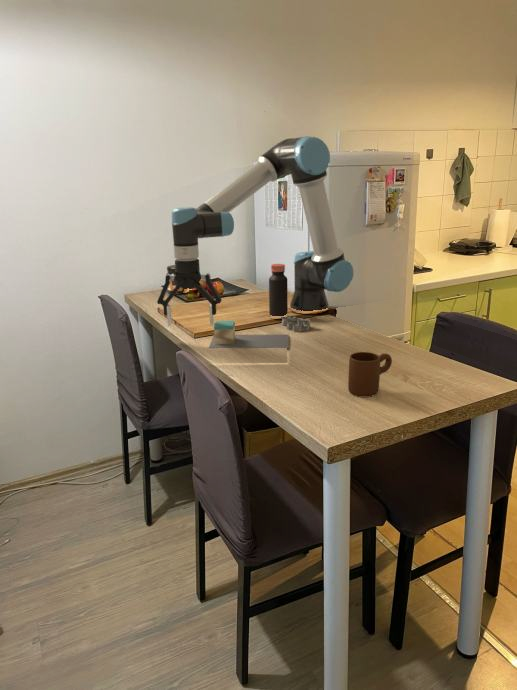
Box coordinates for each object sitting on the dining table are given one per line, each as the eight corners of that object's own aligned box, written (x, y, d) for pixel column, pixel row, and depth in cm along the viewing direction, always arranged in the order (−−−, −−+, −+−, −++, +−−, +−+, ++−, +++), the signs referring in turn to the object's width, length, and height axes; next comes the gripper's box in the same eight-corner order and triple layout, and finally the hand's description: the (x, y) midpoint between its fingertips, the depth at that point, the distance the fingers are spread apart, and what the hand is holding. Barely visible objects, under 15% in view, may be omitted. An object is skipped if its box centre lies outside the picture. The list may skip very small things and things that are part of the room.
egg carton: (312, 330, 189) (313, 319, 188) (294, 333, 186) (294, 322, 184) (296, 323, 198) (296, 312, 196) (278, 326, 194) (278, 315, 193)
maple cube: (235, 338, 179) (234, 320, 177) (233, 344, 173) (232, 326, 171) (217, 338, 179) (216, 320, 177) (214, 344, 174) (214, 326, 172)
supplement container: (163, 294, 246) (161, 268, 242) (174, 289, 255) (172, 264, 252) (184, 295, 243) (182, 268, 239) (194, 290, 252) (193, 264, 248)
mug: (380, 381, 143) (382, 347, 140) (399, 391, 137) (401, 355, 134) (342, 389, 138) (343, 354, 135) (359, 400, 132) (361, 363, 129)
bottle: (267, 319, 202) (266, 266, 196) (272, 315, 208) (271, 263, 202) (285, 320, 200) (284, 266, 194) (289, 316, 206) (289, 263, 200)
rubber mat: (288, 336, 182) (288, 334, 182) (288, 349, 169) (288, 347, 169) (214, 336, 183) (214, 334, 183) (208, 349, 170) (208, 348, 170)
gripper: (144, 261, 165) (150, 328, 172) (225, 260, 164) (228, 327, 171) (149, 257, 173) (155, 321, 179) (228, 256, 171) (230, 321, 178)
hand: (191, 324), depth 175 cm, fingers open, 13 cm apart
